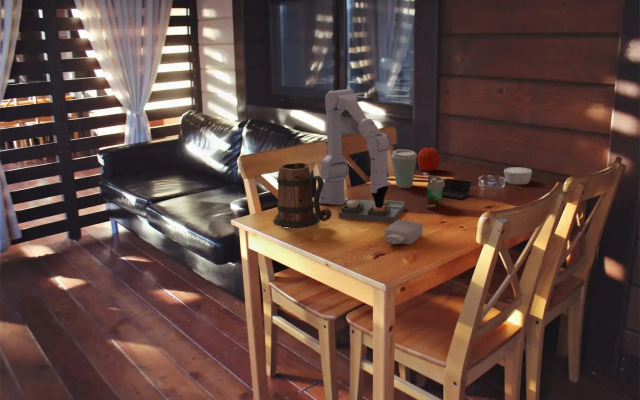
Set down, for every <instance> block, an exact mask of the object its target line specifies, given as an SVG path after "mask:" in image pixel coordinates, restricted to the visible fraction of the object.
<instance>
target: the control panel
mask: <svg viewBox="0 0 640 400" xmlns="http://www.w3.org/2000/svg"><path fill="white" fill-rule="evenodd" d="M353 200H356V201H358V208H355V209H349V208H347V203H345V205H343V206H342V207H341V208H340V210H339V212H338V219H349V220H357V221H358V220H360V221H371V222H381V223H391V224H392V223H394V222H395V221H396V220H398V218H399V217H400V215H401V214H402V213H403V212H404V211H405V210H406V202H405V201H400V200H399V201H397V200H388V203H387V204H386V205H383V206H385V211H384V212H383V211H374V206H375V202H374V200H368V199H366V200H365V199H355V198H354V199H353Z"/></svg>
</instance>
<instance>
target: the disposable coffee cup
mask: <svg viewBox="0 0 640 400" xmlns="http://www.w3.org/2000/svg"><path fill="white" fill-rule="evenodd" d="M390 157H391V160H392V165H393V172H394V180H395V185H396V187H398V188H400V189H409V188H411V187H412V186H413V183H414V177H415V176H414V175H415V170H416V163H417V159H418V153H417V152H415V151H414V150H410V149H395V150H393V151H392V154H391V155H390Z"/></svg>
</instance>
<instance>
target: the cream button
mask: <svg viewBox="0 0 640 400" xmlns="http://www.w3.org/2000/svg"><path fill="white" fill-rule="evenodd" d="M346 204H347V208H349V209H355V208H358V201H356V200H354V199H350V200H349V199H348V200H347V201H346Z"/></svg>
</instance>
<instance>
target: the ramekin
mask: <svg viewBox="0 0 640 400" xmlns="http://www.w3.org/2000/svg"><path fill="white" fill-rule="evenodd" d="M503 174H504V179H506V180H505V182H506V183H507V184H510V185H517V186H519V185H521V186H522V185H527V184H529V183H530V181H531V177H532V174H533V170H532V169H531V168H528V167H520V166H519V167H518V166H517V167H516V166H514V167H507V168H504V170H503Z"/></svg>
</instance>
